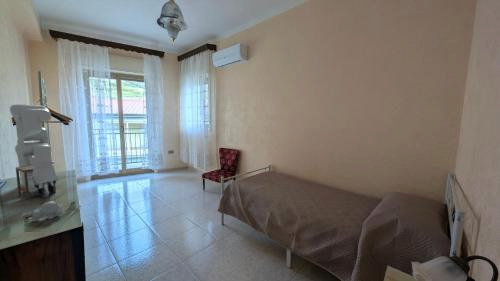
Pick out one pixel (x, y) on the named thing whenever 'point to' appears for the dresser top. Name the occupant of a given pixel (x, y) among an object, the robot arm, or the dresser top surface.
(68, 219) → the dresser top surface
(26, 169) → the wooden stool
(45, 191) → the gray frame with handle
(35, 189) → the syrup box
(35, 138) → the robot arm
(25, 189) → the pit trap
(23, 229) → the dresser top surface
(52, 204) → the round bodied animal figurine
